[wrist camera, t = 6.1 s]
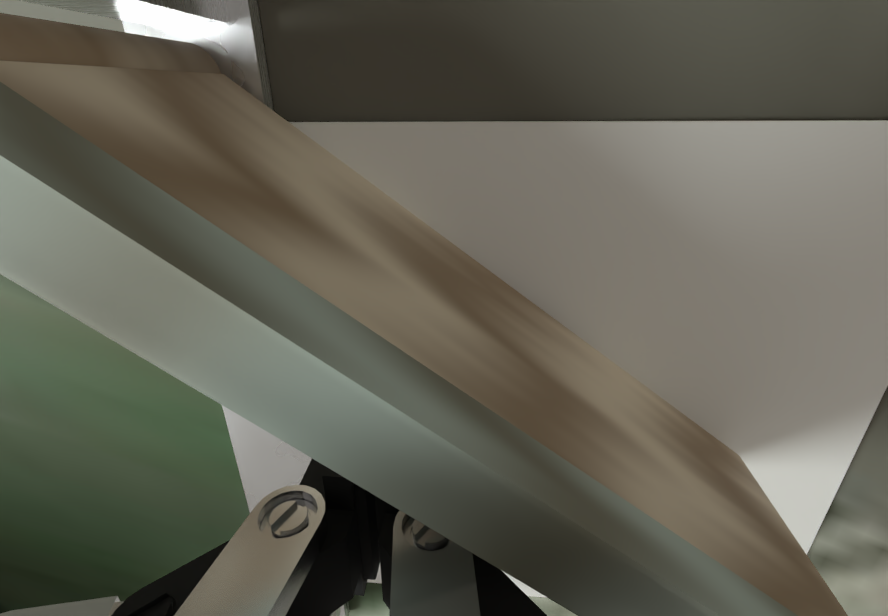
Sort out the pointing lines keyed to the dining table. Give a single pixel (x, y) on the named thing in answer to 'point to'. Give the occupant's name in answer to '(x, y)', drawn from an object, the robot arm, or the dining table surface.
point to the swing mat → (681, 264)
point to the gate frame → (243, 61)
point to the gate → (365, 334)
